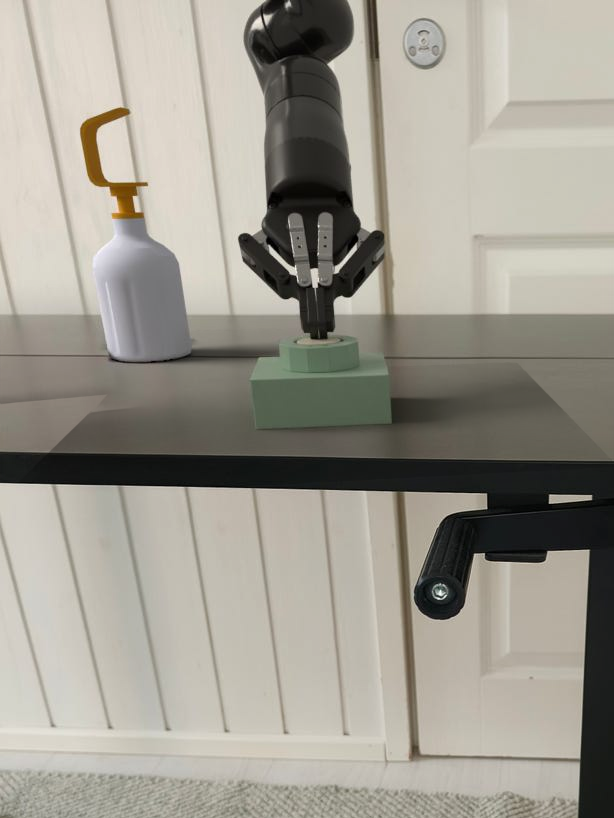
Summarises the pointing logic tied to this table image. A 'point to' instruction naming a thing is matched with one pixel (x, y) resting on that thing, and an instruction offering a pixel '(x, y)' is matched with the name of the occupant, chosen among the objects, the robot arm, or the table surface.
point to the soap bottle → (135, 273)
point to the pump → (318, 341)
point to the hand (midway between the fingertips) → (318, 333)
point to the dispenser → (320, 386)
